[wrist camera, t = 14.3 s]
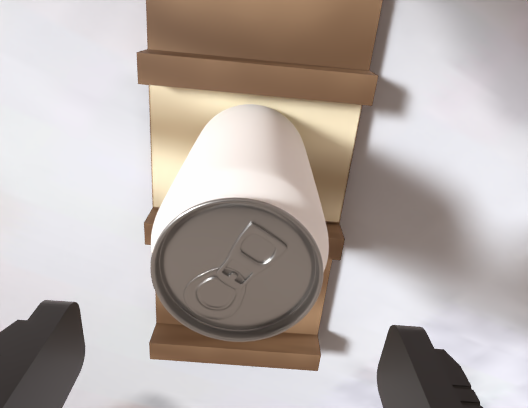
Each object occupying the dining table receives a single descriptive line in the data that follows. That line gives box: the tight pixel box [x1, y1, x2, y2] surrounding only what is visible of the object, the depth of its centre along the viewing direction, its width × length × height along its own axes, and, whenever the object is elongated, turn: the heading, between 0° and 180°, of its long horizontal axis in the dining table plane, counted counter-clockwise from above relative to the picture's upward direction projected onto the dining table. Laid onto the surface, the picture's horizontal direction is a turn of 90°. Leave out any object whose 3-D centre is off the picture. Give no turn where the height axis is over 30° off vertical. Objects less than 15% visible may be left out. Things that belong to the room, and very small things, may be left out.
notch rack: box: [137, 0, 383, 371], centre depth 24 cm, size 30×12×3 cm, turn 175°
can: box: [151, 104, 329, 342], centre depth 18 cm, size 6×6×12 cm
